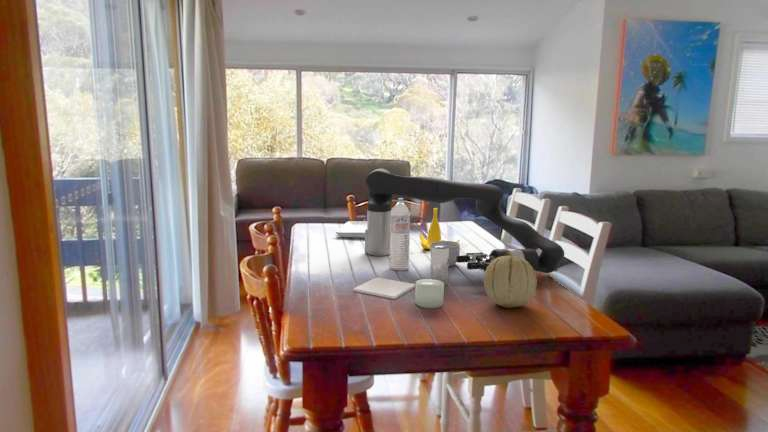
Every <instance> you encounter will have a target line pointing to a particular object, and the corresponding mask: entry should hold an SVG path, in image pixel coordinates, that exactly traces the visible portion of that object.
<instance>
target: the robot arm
mask: <svg viewBox="0 0 768 432" xmlns="http://www.w3.org/2000/svg"><path fill="white" fill-rule="evenodd" d="M365 184H366V185H365V186H366V187H367V188H368V190H369V191H368V201H367V204H366V205H367V208H366V209H367V210H366V211H367V212H366V213H367V214H366V215H367V216H366V217H367V218H366V221H367V229H365V238H364V253H365V254H367V255H370V256H376V257H377V256H379V257H382V256H390V232H391V209H392V203H393V195H394V196H403V197H407V198H411V199H414V200H420V201H423V202H429V203H436V204H445V203H449V202H452V201H456V200H459V199H472V200H476V201H475V209H476V211H477V212H478V213H479V214H480V215H481V216H483V217H484V218H485V219H487V220H489V221H490V222H491V223H493V224H495V225H496V226H497V227H499V228H501V229H502V230H503V231H505V232H506V233H507V234H509V235H510V236H511V237H512V238H513V239H514V240H516V241H517V242H518V243H519V244H520V245H521V247H523V248H497V249H496V248H495V249H492V251H490V253H489V255H488V254H487V253H484V252H466V253H465V254H464V255H459V256H457V257H456V262H457V263H459V264H460V263H467V264H466V269H467V270H479V271H483V272H485V271H486V269H487V267H488V265H489V264H490V263H491V262H492V261H493V260H494V259H496V258H498V257H501V256H508V255H507V254H506V252H509V253H511V254H512V255H513V256H517V257H520V258H523V259H525V260H526V261H528V262H529V264H530V265H531V266H532V267H533V269H534V271H536V272H540V273H545V274H549V273H553V272H555V271H556V270H557V269H558V268H559V266H560V264H561V262H562V260H563V259H564V258H565V257H564V256H565V250H564V249H563V247H562V245H560V244H558V242H555V241H553V240H551V239H550V238H547V237H546V236H543V235H542V234H540V232H538V231H537V230H536V229H535V228H533V227H532V226H531V225H530V224H529V223H527V222H525V221H522V220H520V219H516V218H513V217H512V216H509V215H507V214H506V213H505V212H504V211H503V209H502V207H501V206H502V202H503V199H504V191H503V189H502V188H501V187H499V186H497V185H495V184H488V183H477V182H463V181H456V180H449V179H442V178H437V177H431V176H430V177H429V176H418V175H417V176H402V175H398V174H395V173H391V172H390V171H389V170H388V169H386V168H376V169H373V170H372V171H370V172H369V174H368V175H367V176H366V178H365ZM537 250H540V251H541V252H540V254H538V252H537Z"/></svg>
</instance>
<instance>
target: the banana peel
mask: <svg viewBox="0 0 768 432" xmlns="http://www.w3.org/2000/svg"><path fill="white" fill-rule="evenodd" d="M432 209H433V210H432V211H433V216H432V217H433V218H432V221H431V222H430V225H429V227H428V228H429V229H428V233H427V238H426V237H424V235H423V234H419V238H420V242H421V247H422V249H425V250H430V244H431V243H433V242H437V241H441V240H442V232H441V227H440V222H439V220H438V210H439V209H438V207H434V208H432ZM460 241H461V240H460V239H458V240H456V241H455V242H458V243H460Z"/></svg>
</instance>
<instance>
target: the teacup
mask: <svg viewBox="0 0 768 432" xmlns="http://www.w3.org/2000/svg"><path fill="white" fill-rule="evenodd" d="M433 245H446V246H448V247H449V264H448V268H449V267H452V266H454V265H456V263H458V262H456V257H457V256H461V254H460V249H461V248H460V247H461V244H460V242H456V241H453V240H444V239H441V241H437V242H433V243H431V244H430V249H429V250H430V255H431V246H433Z"/></svg>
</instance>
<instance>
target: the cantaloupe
mask: <svg viewBox="0 0 768 432" xmlns="http://www.w3.org/2000/svg"><path fill="white" fill-rule="evenodd" d="M506 254H507V255H508V256H501V257H498V258H496V259H494V260H493V261H492V262H491V263H490V264H489V265H488V267H487V269H486V271H484V275H483V288H484V290H485V293H486V296H488V298H489V299H490V300H491V301H492V302H493V303H495V304H496V305H498V306H500V307H503V308H508V309H513V308H518V307H521V306H524V305H526V304H527V303H529V302H530V301H531V299H533V297H534V295H535V294H536V289H537V286H538V285H537V284H538V283H537V282H538V281H537V274H536V272H535V270H534V269H533V267H532V266H531V265H530V264H529V262H528V261H526V260H525V259H523V258H520V257H517V256H513V255H512V254H511V253H509V252H506Z"/></svg>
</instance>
